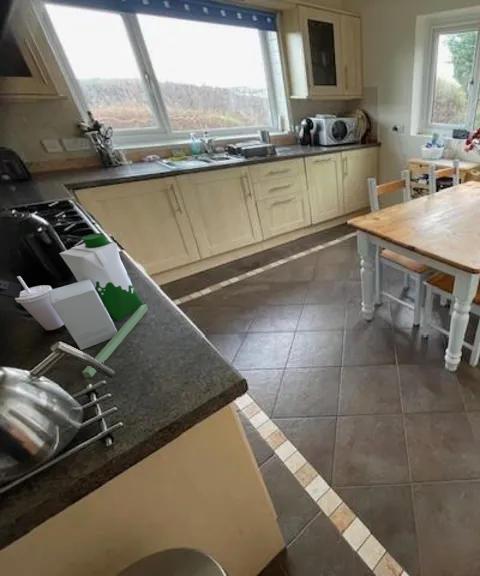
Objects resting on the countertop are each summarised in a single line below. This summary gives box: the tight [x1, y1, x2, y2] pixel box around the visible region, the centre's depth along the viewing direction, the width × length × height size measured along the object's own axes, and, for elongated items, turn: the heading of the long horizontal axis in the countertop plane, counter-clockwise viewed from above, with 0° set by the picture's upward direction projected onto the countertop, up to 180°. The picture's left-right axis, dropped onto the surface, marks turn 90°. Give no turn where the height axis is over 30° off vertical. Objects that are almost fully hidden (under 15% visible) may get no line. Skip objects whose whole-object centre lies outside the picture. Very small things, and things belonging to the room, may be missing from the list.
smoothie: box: [14, 275, 65, 331], centre depth 76 cm, size 6×6×14 cm
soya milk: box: [58, 232, 144, 322], centre depth 80 cm, size 9×9×20 cm
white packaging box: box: [48, 279, 118, 351], centre depth 73 cm, size 7×7×13 cm
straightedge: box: [81, 304, 149, 379], centre depth 75 cm, size 1×24×2 cm, turn 8°
